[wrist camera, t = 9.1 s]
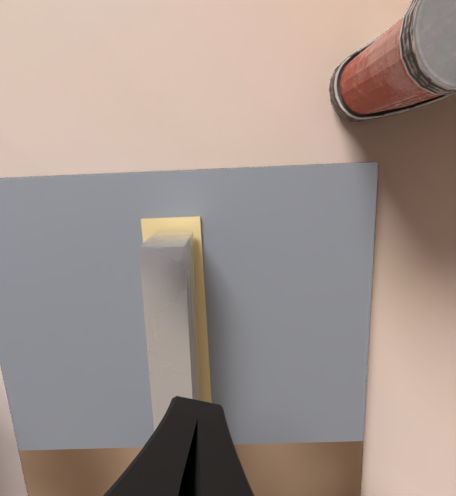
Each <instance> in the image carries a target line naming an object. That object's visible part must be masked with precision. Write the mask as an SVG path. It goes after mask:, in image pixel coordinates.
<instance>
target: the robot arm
mask: <svg viewBox="0 0 456 496" xmlns="http://www.w3.org/2000/svg"><path fill="white" fill-rule="evenodd" d="M103 496H254V494H253V491H252V489H251V487H250V485H249V482H248V480H247V478H246V475H245V473H244V470H243V468H242V465H241V463H240V460H239V457H238V455H237V452H236V449H235V447H234V444H233V441H232V438H231V435H230V432H229V428H228V425H227V422H226V418H225V414H224V409H223V408H222V406H221V405H219V404H214V403H209V402H204V401H199V400H195V399H190V398H185V397H180V396H176V397H174V398H172V400H171V402H170V405H169V407H168V409H167V411H166V413H165V415H164V417H163V418H162V420H161V422H160V423H159V425H158V427H157V428H156V430H155V431H154V433H153V434H152V435H151V437H150V438H149V440H148V441H147V443H146V444H145V445H144V447H143V448H142V450H141V451H140V452H139V454H138V455H137V456H136V457H135V459H134V460H133V461H132V462H131V464H130V465H129V466H128V467H127V469H126V470H125V471H124V472H123V473H122V475H121V476H120V477H119V478H118V479H117V481H116V482H115V483H114V484H113V485H112V486H111V487H110V489H109V490H108V491H107V492H106V493H105V494H104V495H103Z"/></svg>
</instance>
